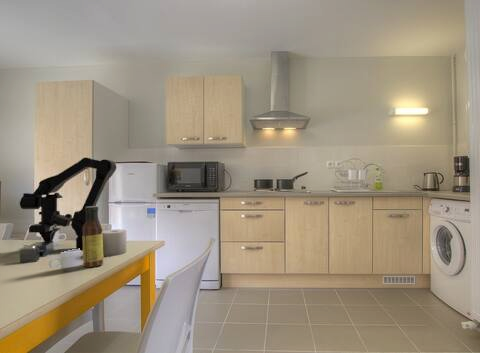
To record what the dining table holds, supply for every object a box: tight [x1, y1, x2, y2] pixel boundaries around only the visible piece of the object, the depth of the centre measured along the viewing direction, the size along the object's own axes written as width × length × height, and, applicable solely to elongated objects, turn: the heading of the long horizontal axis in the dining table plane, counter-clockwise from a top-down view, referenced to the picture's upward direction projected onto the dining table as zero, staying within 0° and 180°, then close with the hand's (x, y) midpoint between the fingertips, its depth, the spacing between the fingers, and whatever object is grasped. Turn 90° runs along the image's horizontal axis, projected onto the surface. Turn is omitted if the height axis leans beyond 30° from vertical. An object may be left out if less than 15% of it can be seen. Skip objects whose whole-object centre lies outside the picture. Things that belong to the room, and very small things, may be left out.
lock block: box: [29, 240, 55, 257], centre depth 121 cm, size 6×9×4 cm
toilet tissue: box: [102, 229, 127, 257], centre depth 120 cm, size 9×13×9 cm
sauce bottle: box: [82, 205, 104, 268], centre depth 104 cm, size 6×6×20 cm
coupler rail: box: [19, 244, 43, 264], centre depth 115 cm, size 5×14×5 cm, turn 15°
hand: (49, 246), depth 130 cm, fingers closed
